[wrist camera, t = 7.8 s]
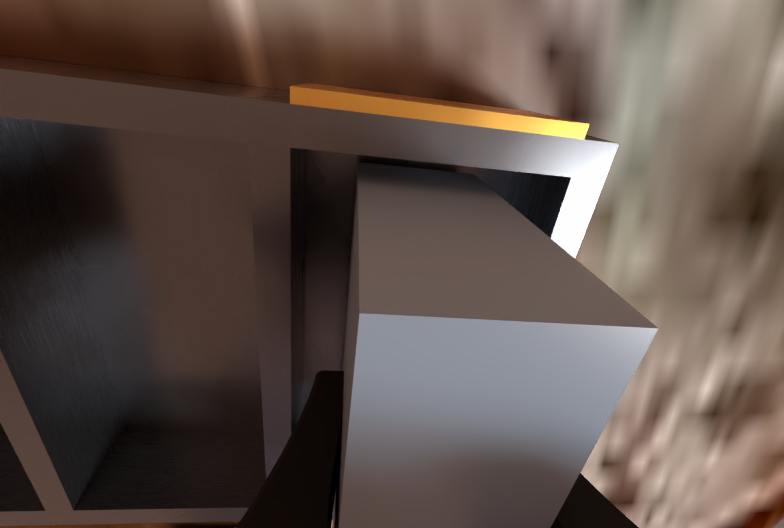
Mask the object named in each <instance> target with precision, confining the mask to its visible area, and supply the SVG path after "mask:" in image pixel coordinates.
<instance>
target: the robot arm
mask: <svg viewBox="0 0 784 528" xmlns="http://www.w3.org/2000/svg"><path fill="white" fill-rule="evenodd" d="M343 390H344V371H327V370H321V371H319V372H318V373H316V376H315V380H314V384H313V387H312V389H311V392H310V395H309V397H308V400H307V402H306V405H305V407H304V409H303V411H302V414H301V416H300V418H299V420H298V422H297V424H296V426H295V428H294V430H293V432H292V434H291V436H290V438H289V440H288V442H287V444H286V446H285V448H284V449H283V451H282V453H281V455H280V457H279V458H278V460H277V462H276V463H275V465H274V467H273V469H272V470H271V472H270V474H269V476H268V477H267V479H266V481H265V483H264V484H263V486H262V488H261V489H260V491H259V493H258V494H257V496H256V497H255V499H254V501H253V502H252V504H251V505H250V507H249V508H248V510H247V512H246V513H245V515H244V516H243V518H242V519H241V521H240V522H239V524H238V525H237V527H236V528H331V522H332V515H333V507H334V500H335V493H336V484H337V472H338V460H339V448H340V436H341V424H342V412H343ZM551 528H638V527H637V526H636V525H635V524H634V523H633V522H632V521H631V520H629V519H628V518H627V517H626V516H625V515H624V514H623V513H622V512H621V511H619V510H618V509H617V508H616V507H615V506H614V505H613V504H612V503H611V502H610V501H608V500H607V499H606V498H605V497H604V496H603V495H602V494H601V493H600V492H599V491H598V490H597V489H596V488H595V487H594V486H593V485H592V484H591V483H590V482H589V481H588V480H587V479H586V478H585V477H584V476H583V475H582V474H581V473H580V474H579V476H578V478H577V480H576V481H575V483H574V485H573V487H572V489H571V491H570V493H569V494H568V496H567V498H566V500H565V502H564V504H563V505H562V507H561V509H560V511H559V513H558V515H557V517H556V518H555V520H554V522H553V524H552V526H551Z"/></svg>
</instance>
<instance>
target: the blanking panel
mask: <svg viewBox="0 0 784 528" xmlns="http://www.w3.org/2000/svg"><path fill="white" fill-rule="evenodd" d="M657 330H658V328H657V327H656V326H655V325H654V324H652V323H651V322H650V321H649V320H648V319H646V318H645V317H644V316H643V315H642V314H640V313H639V312H638V311H637V310H636V309H635V308H633V307H632V306H631V305H630V304H629V303H627V302H626V301H625V300H624V299H623V298H621V297H620V296H619V295H618V294H617V293H615V292H614V291H613V290H612V289H611V288H609V287H608V286H607V285H606V284H605V283H603V282H602V281H601V280H600V279H599V278H597V277H596V276H595V275H594V274H593V273H591V272H590V271H589V270H588V269H587V268H585V267H584V266H583V265H582V264H581V263H579V262H578V261H577V260H576V259H575V258H574V257H572V256H571V255H570V254H569V253H568V252H566V251H565V250H564V249H563V248H562V247H560V246H559V245H558V244H557V243H556V242H554V241H553V240H552V239H551V238H550V237H548V236H547V235H546V234H545V233H544V232H542V231H541V230H540V229H539V228H538V227H536V226H535V225H534V224H533V223H532V222H530V221H529V220H528V219H527V218H526V217H524V216H523V215H522V214H521V213H520V212H519V211H517V210H516V209H515V208H514V207H513V206H511V205H510V204H509V203H508V202H507V201H505V200H504V199H503V198H502V197H501V196H499V195H498V194H497V193H496V192H495V191H493V190H492V189H491V188H490V187H489V186H487V185H486V184H485V183H484V182H483V181H481V180H480V179H479V178H478V177H477V176H475V175H474V174H468V173H458V172H448V171H439V170H429V169H419V168H410V167H400V166H391V165H381V164H371V163H362V162H358V166H357V179H356V192H355V205H354V218H353V231H352V244H351V257H350V270H349V283H348V296H347V309H346V322H345V335H344V348H343V361H342V371H344V390H343V412H342V424H341V436H340V448H339V460H338V472H337V484H336V493H335V500H334V508H333V527H332V528H551V526H552V524H553V522H554V520H555V518H556V517H557V515H558V513H559V511H560V509H561V507H562V505H563V504H564V502H565V500H566V498H567V496H568V494H569V493H570V491H571V489H572V487H573V485H574V483H575V481H576V480H577V478H578V476H579V474H580V472H581V470H582V469H583V467H584V465H585V463H586V461H587V459H588V457H589V456H590V454H591V452H592V450H593V448H594V446H595V445H596V443H597V441H598V439H599V437H600V435H601V433H602V432H603V430H604V428H605V426H606V424H607V422H608V420H609V419H610V417H611V415H612V413H613V411H614V409H615V408H616V406H617V404H618V402H619V400H620V398H621V396H622V395H623V393H624V391H625V389H626V387H627V385H628V384H629V382H630V380H631V378H632V376H633V374H634V372H635V371H636V369H637V367H638V365H639V363H640V361H641V360H642V358H643V356H644V354H645V352H646V350H647V348H648V347H649V345H650V343H651V341H652V339H653V337H654V336H655V334H656V332H657Z"/></svg>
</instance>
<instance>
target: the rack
mask: <svg viewBox="0 0 784 528" xmlns="http://www.w3.org/2000/svg"><path fill="white" fill-rule="evenodd" d="M588 127H589V124H586V123H581V122H577V121H572V120H567V119H563V118H558V117H553V116H549V115H544V114H540V113H535V112H530V111H524V110H516V109H508V108H500V107H493V106H485V105H477V104H470V103H462V102H454V101H446V100H439V99H431V98H423V97H415V96H408V95H400V94H392V93H385V92H377V91H369V90H361V89H354V88H346V87H338V86H330V85H323V84H315V83H304V84H299V85H293V86H290V91H284V90H276V89H268V88H260V87H252V86H245V85H237V84H229V83H221V82H213V81H205V80H197V79H189V78H181V77H173V76H165V75H157V74H149V73H141V72H133V71H125V70H117V69H109V68H101V67H93V66H85V65H77V64H70V63H62V62H54V61H46V60H38V59H30V58H22V57H14V56H6V55H0V526H44V525H91V524H138V523H185V522H231V521H241V519H242V518H243V516H244V515H245V513H246V512H247V510H248V508H249V507H250V505H251V504H252V502H253V501H254V499H255V497H256V496H257V494H258V493H259V491H260V489H261V488H262V486H263V484H264V483H265V481H266V479H267V477H268V476H269V474H270V472H271V470H272V469H273V467H274V465H275V463H276V462H277V460H278V458H279V457H280V455H281V453H282V451H283V449H284V448H285V446H286V444H287V442H288V440H289V438H290V436H291V434H292V432H293V430H294V428H295V426H296V424H297V422H298V420H299V418H300V416H301V414H302V411H303V409H304V407H305V405H306V402H307V400H308V397H309V395H310V392H311V389H312V387H313V384H314V380H315V376H316V373H318V372H319V371H321V370H327V371H342V361H343V348H344V335H345V322H346V309H347V296H348V283H349V270H350V257H351V244H352V231H353V218H354V205H355V192H356V179H357V166H358V162H362V163H371V164H381V165H391V166H400V167H410V168H419V169H429V170H439V171H448V172H458V173H468V174H474V175H475V176H477V177H478V178H479V179H480V180H481V181H483V182H484V183H485V184H486V185H487V186H489V187H490V188H491V189H492V190H493V191H495V192H496V193H497V194H498V195H499V196H501V197H502V198H503V199H504V200H505V201H507V202H508V203H509V204H510V205H511V206H513V207H514V208H515V209H516V210H517V211H519V212H520V213H521V214H522V215H523V216H524V217H526V218H527V219H528V220H529V221H530V222H532V223H533V224H534V225H535V226H536V227H538V228H539V229H540V230H541V231H542V232H544V233H545V234H546V235H547V236H548V237H550V238H551V239H552V240H553V241H554V242H556V243H557V244H558V245H559V246H560V247H562V248H563V249H564V250H565V251H566V252H568V253H569V254H570V255H571V256H572V257H574V258H575V257H576V255H577V252H578V250H579V247H580V244H581V242H582V239H583V237H584V234H585V231H586V229H587V226H588V223H589V221H590V218H591V216H592V213H593V210H594V208H595V205H596V203H597V200H598V197H599V195H600V192H601V189H602V187H603V184H604V182H605V179H606V176H607V174H608V171H609V169H610V166H611V163H612V161H613V158H614V156H615V153H616V150H617V148H618V145H619V144H618V143H615V142H611V141H607V140H603V139H600V138H596V137H592V136H588V135H586V133H587V130H588ZM333 508H334V507H333ZM332 519H333V515H332Z"/></svg>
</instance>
